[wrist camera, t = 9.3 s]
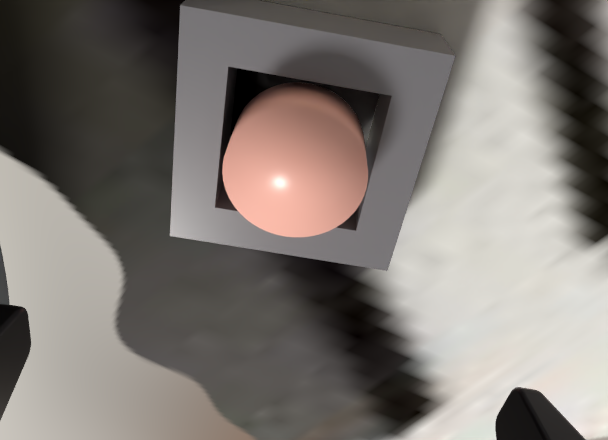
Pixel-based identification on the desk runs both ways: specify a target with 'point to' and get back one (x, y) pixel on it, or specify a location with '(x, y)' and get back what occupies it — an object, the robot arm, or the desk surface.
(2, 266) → the grey rounded slab
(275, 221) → the button
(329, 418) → the desk surface
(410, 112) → the button housing
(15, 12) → the desk surface
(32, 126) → the desk surface
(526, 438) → the robot arm
